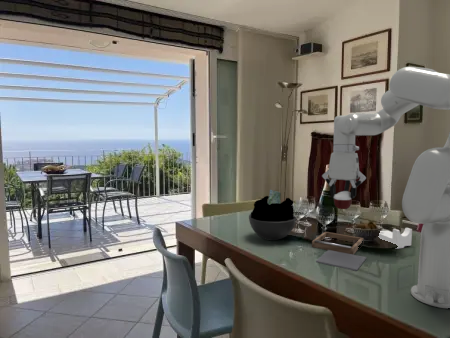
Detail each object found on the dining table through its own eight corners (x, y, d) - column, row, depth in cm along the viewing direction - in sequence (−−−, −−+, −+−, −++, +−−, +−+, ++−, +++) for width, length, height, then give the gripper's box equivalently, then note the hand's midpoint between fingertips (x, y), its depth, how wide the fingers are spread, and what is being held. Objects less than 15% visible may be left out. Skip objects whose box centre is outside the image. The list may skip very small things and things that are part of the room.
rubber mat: (356, 270, 114) (356, 269, 114) (315, 262, 122) (315, 260, 122) (366, 258, 126) (366, 257, 126) (328, 251, 134) (328, 249, 134)
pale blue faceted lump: (243, 216, 190) (250, 185, 191) (275, 222, 197) (281, 192, 198) (257, 223, 173) (265, 188, 174) (291, 229, 180) (298, 195, 180)
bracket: (411, 247, 139) (412, 229, 138) (396, 249, 137) (397, 230, 136) (387, 238, 152) (388, 221, 151) (373, 239, 150) (374, 222, 149)
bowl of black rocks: (239, 238, 150) (239, 195, 148) (270, 230, 163) (271, 190, 161) (273, 250, 135) (274, 202, 133) (304, 240, 147) (306, 196, 145)
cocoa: (339, 211, 124) (339, 179, 123) (327, 208, 130) (328, 176, 128) (359, 208, 128) (360, 176, 127) (347, 205, 134) (347, 174, 132)
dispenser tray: (353, 255, 130) (353, 247, 129) (311, 246, 138) (312, 239, 138) (363, 243, 143) (363, 237, 142) (324, 237, 152) (325, 230, 151)
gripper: (371, 149, 125) (369, 198, 127) (324, 148, 135) (323, 193, 137) (366, 149, 119) (364, 201, 121) (317, 149, 129) (316, 196, 131)
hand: (342, 196), depth 129 cm, fingers closed on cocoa, 6 cm apart
